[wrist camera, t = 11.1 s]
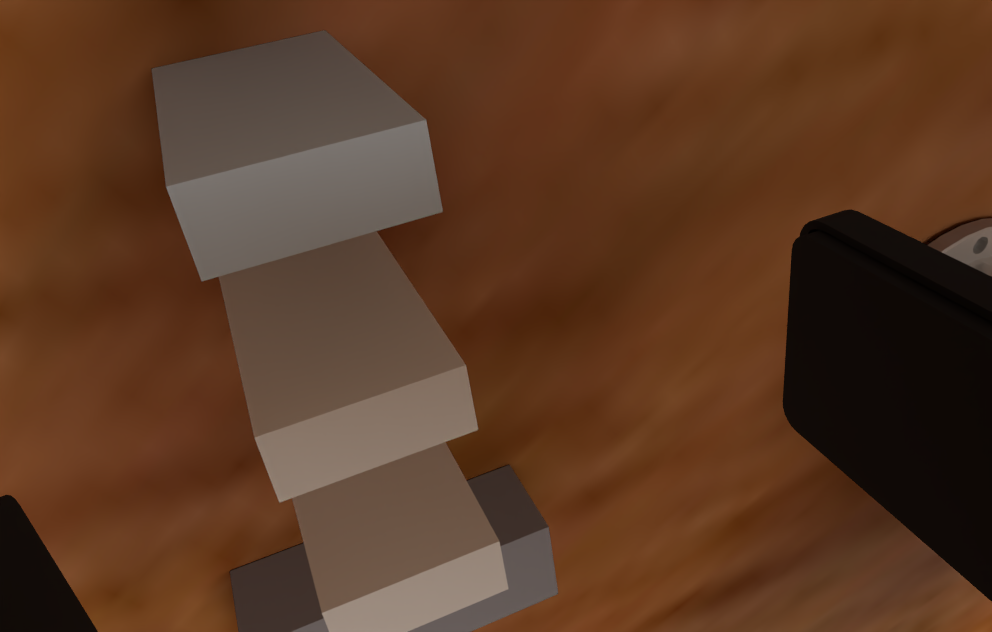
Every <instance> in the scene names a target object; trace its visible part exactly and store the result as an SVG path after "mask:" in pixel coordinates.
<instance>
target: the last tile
mask: <svg viewBox="0 0 992 632" xmlns="http://www.w3.org/2000/svg"><path fill="white" fill-rule="evenodd" d="M292 500H293V504H294V508H295V511H296V515H297V519H298V523H299V527H300V531H301V535H302V538H303V542H304V546H305V550H306V554H307V558H308V562H309V565H310V569H311V573H312V577H313V581H314V585H315V589H316V592H317V596H318V600H319V604H320V608H321V612H322V615H323V617H324V620H325V623H326V625H327V628H328V630H329V632H408V631H410V630H413V629H415V628H418V627H420V626H422V625H425V624H427V623H429V622H432V621H434V620H437V619H439V618H441V617H444V616H446V615H448V614H451V613H453V612H456V611H458V610H460V609H463V608H465V607H467V606H470V605H472V604H474V603H477V602H479V601H482V600H484V599H486V598H489V597H491V596H493V595H496V594H498V593H501V592H503V591H505V590H508V584H507V578H506V573H505V568H504V563H503V557H502V552H501V547H500V542H499V539H498V538H497V536H496V534H495V532H494V530H493V528H492V527H491V525H490V523H489V521H488V519H487V517H486V516H485V514H484V512H483V510H482V508H481V506H480V505H479V503H478V501H477V499H476V497H475V495H474V494H473V492H472V490H471V488H470V486H469V484H468V483H467V481H466V479H465V477H464V475H463V473H462V472H461V470H460V468H459V466H458V464H457V462H456V461H455V459H454V457H453V455H452V453H451V451H450V450H449V448H448V446H447V444H446V442H444V443H441V444H438V445H436V446H433V447H430V448H427V449H425V450H422V451H419V452H416V453H414V454H411V455H408V456H406V457H403V458H400V459H397V460H395V461H392V462H389V463H386V464H384V465H381V466H378V467H375V468H373V469H370V470H367V471H365V472H362V473H359V474H356V475H354V476H351V477H348V478H345V479H343V480H340V481H337V482H334V483H332V484H329V485H326V486H324V487H321V488H318V489H315V490H313V491H310V492H307V493H304V494H302V495H299V496H296V497H293V498H292Z"/></svg>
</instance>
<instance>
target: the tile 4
mask: <svg viewBox="0 0 992 632" xmlns="http://www.w3.org/2000/svg"><path fill="white" fill-rule="evenodd" d="M219 281H220V285H221V290H222V294H223V299H224V303H225V308H226V312H227V317H228V321H229V326H230V330H231V335H232V339H233V344H234V348H235V353H236V357H237V362H238V366H239V371H240V375H241V380H242V384H243V389H244V393H245V398H246V402H247V407H248V411H249V416H250V420H251V425H252V429H253V434H254V438H255V441H256V443H257V446H258V449H259V451H260V454H261V456H262V459H263V461H264V464H265V467H266V469H267V472H268V474H269V477H270V480H271V482H272V485H273V487H274V490H275V493H276V495H277V498H278V500H279V503H280V502H283V501H285V500H288V499H291V498H293V497H296V496H299V495H302V494H304V493H307V492H310V491H313V490H315V489H318V488H321V487H324V486H326V485H329V484H332V483H334V482H337V481H340V480H343V479H345V478H348V477H351V476H354V475H356V474H359V473H362V472H365V471H367V470H370V469H373V468H375V467H378V466H381V465H384V464H386V463H389V462H392V461H395V460H397V459H400V458H403V457H406V456H408V455H411V454H414V453H416V452H419V451H422V450H425V449H427V448H430V447H433V446H436V445H438V444H441V443H444V442H447V441H449V440H452V439H455V438H457V437H460V436H463V435H466V434H468V433H471V432H474V431H477V430H478V426H477V420H476V415H475V410H474V405H473V399H472V394H471V389H470V384H469V378H468V373H467V368H466V364H465V363H464V361H463V360H462V358H461V357H460V355H459V354H458V352H457V351H456V349H455V348H454V346H453V345H452V343H451V342H450V340H449V339H448V337H447V336H446V334H445V333H444V331H443V330H442V328H441V327H440V325H439V324H438V322H437V321H436V319H435V318H434V316H433V315H432V313H431V312H430V310H429V309H428V307H427V306H426V304H425V303H424V301H423V300H422V298H421V297H420V295H419V294H418V292H417V291H416V289H415V288H414V286H413V285H412V283H411V282H410V280H409V279H408V277H407V276H406V274H405V273H404V271H403V270H402V269H401V267H400V266H399V264H398V263H397V261H396V260H395V258H394V257H393V255H392V254H391V252H390V251H389V249H388V248H387V246H386V245H385V243H384V242H383V240H382V239H381V237H380V236H379V234H378V233H377V231H375V232H372V233H368V234H365V235H361V236H358V237H354V238H351V239H347V240H344V241H340V242H337V243H334V244H330V245H327V246H323V247H320V248H316V249H313V250H309V251H306V252H302V253H299V254H295V255H292V256H288V257H285V258H282V259H278V260H275V261H271V262H268V263H264V264H261V265H257V266H254V267H250V268H247V269H243V270H240V271H236V272H233V273H230V274H226V275H223V276H219Z"/></svg>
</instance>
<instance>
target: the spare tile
mask: <svg viewBox="0 0 992 632" xmlns="http://www.w3.org/2000/svg"><path fill="white" fill-rule="evenodd" d="M152 77H153V85H154V93H155V101H156V109H157V117H158V126H159V134H160V142H161V150H162V158H163V166H164V174H165V183H166V188H167V191H168V193H169V196H170V199H171V201H172V204H173V207H174V209H175V212H176V215H177V217H178V220H179V223H180V225H181V228H182V231H183V233H184V236H185V238H186V241H187V244H188V246H189V249H190V252H191V254H192V257H193V260H194V262H195V265H196V268H197V270H198V273H199V276H200V278H201V281H205V280H209V279H212V278H216V277H219V276H223V275H226V274H230V273H233V272H236V271H240V270H243V269H247V268H250V267H254V266H257V265H261V264H264V263H268V262H271V261H275V260H278V259H282V258H285V257H288V256H292V255H295V254H299V253H302V252H306V251H309V250H313V249H316V248H320V247H323V246H327V245H330V244H334V243H337V242H340V241H344V240H347V239H351V238H354V237H358V236H361V235H365V234H368V233H372V232H375V231H379V230H382V229H386V228H389V227H392V226H396V225H399V224H403V223H406V222H410V221H413V220H417V219H420V218H424V217H427V216H431V215H434V214H437V213H441V212H443V209H442V204H441V198H440V193H439V187H438V182H437V176H436V171H435V165H434V160H433V154H432V149H431V144H430V138H429V133H428V127H427V122H426V119H425V118H424V117H422V116H421V115H420V114H419V113H418V112H417V111H416V110H415V109H413V108H412V107H411V106H410V105H409V104H408V103H407V102H406V101H404V100H403V99H402V98H401V97H400V96H399V95H398V94H396V93H395V92H394V91H393V90H392V89H391V88H390V87H389V86H387V85H386V84H385V83H384V82H383V81H382V80H381V79H380V78H378V77H377V76H376V75H375V74H374V73H373V72H372V71H371V70H369V69H368V68H367V67H366V66H365V65H364V64H363V63H362V62H360V61H359V60H358V59H357V58H356V57H355V56H354V55H352V54H351V53H350V52H349V51H348V50H347V49H346V48H345V47H343V46H342V45H341V44H340V43H339V42H338V41H337V40H336V39H334V38H333V37H332V36H331V35H330V34H329V33H328V32H327V31H325V30H324V31H319V32H315V33H310V34H306V35H301V36H296V37H292V38H287V39H283V40H278V41H274V42H269V43H265V44H260V45H256V46H251V47H247V48H242V49H238V50H233V51H229V52H224V53H220V54H215V55H211V56H206V57H202V58H197V59H192V60H188V61H183V62H179V63H174V64H170V65H165V66H161V67H156V68H152Z"/></svg>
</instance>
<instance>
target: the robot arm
mask: <svg viewBox="0 0 992 632" xmlns="http://www.w3.org/2000/svg"><path fill="white" fill-rule="evenodd" d="M783 408H784V412H785V415H786V417H787V420H788V421H789V423H790V424H791V426H792V427H793V428H794V429H795V430H796V431H797V432H798V433H799V434H800V435H801V436H803V437H804V438H805V439H806V440H807V441H808V442H809V443H811V444H812V445H813V446H814V447H815V448H816V449H817V450H819V451H820V452H821V453H822V454H823V455H824V456H825V457H827V458H828V459H829V460H830V461H831V462H832V463H834V464H835V465H836V466H837V467H838V468H839V469H840V470H842V471H843V472H844V473H845V474H846V475H847V476H848V477H850V478H851V479H852V480H853V481H854V482H855V483H856V484H858V485H859V486H860V487H861V488H862V489H863V490H864V491H866V492H867V493H868V494H869V495H870V496H871V497H873V498H874V499H875V500H876V501H877V502H878V503H879V504H881V505H882V506H883V507H884V508H885V509H886V510H887V511H889V512H890V513H891V514H892V515H893V516H894V517H895V518H897V519H898V520H899V521H900V522H901V523H902V524H903V525H905V526H906V527H907V528H908V529H909V530H910V531H911V532H913V533H914V534H915V535H916V536H917V537H918V538H920V539H921V540H922V541H923V542H924V543H925V544H926V545H928V546H929V547H930V548H931V549H932V550H933V551H934V552H936V553H937V554H938V555H939V556H940V557H941V558H942V559H944V560H945V561H946V562H947V563H948V564H949V565H950V566H952V567H953V568H954V569H955V570H956V571H957V572H959V573H960V574H961V575H962V576H963V577H964V578H965V579H967V580H968V581H969V582H970V583H971V584H972V585H973V586H975V587H976V588H977V589H978V590H979V591H980V592H981V593H983V594H984V595H985V596H986V597H987V598H988V599H989V600H991V601H992V218H988V219H980V220H977V221H974V222H970V223H967V224H964V225H961V226H959V227H957V228H955V229H953V230H951V231H949V232H947V233H945V234H943V235H941V236H940V237H938V238H937V239H935V240H934V241H933V242H931V243H930V244H928V245H926V244H924V243H922V242H920V241H918V240H916V239H914V238H911V237H909V236H907V235H905V234H903V233H901V232H899V231H897V230H895V229H893V228H891V227H889V226H887V225H885V224H883V223H881V222H879V221H877V220H874V219H872V218H870V217H868V216H866V215H864V214H862V213H860V212H858V211H854V210H844V211H841V212H838V213H835V214H832V215H829V216H826V217H822V218H819V219H816V220H813V221H810V222H808V223H807V224H806V225H804V227H803V229H802V230H801V233H800V237H798V238H797V239H796V240H795V242H794V243H793V247H792V256H791V273H790V290H789V307H788V323H787V340H786V357H785V374H784V391H783ZM0 632H98V631H97V630H96V628H95V626H94V625H93V623H92V621H91V620H90V618H89V617H88V615H87V613H86V612H85V610H84V608H83V607H82V605H81V604H80V602H79V600H78V599H77V597H76V596H75V594H74V592H73V591H72V589H71V587H70V586H69V584H68V583H67V581H66V579H65V578H64V576H63V574H62V573H61V571H60V570H59V568H58V566H57V565H56V563H55V561H54V560H53V558H52V557H51V555H50V553H49V552H48V550H47V548H46V547H45V545H44V544H43V542H42V540H41V539H40V537H39V535H38V534H37V532H36V531H35V529H34V527H33V526H32V524H31V522H30V521H29V519H28V518H27V516H26V514H25V513H24V511H23V510H22V508H21V506H20V505H19V503H18V502H17V501H16V499H15V498H13V497H12V496H10V495H5V496H2V497H0Z"/></svg>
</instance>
